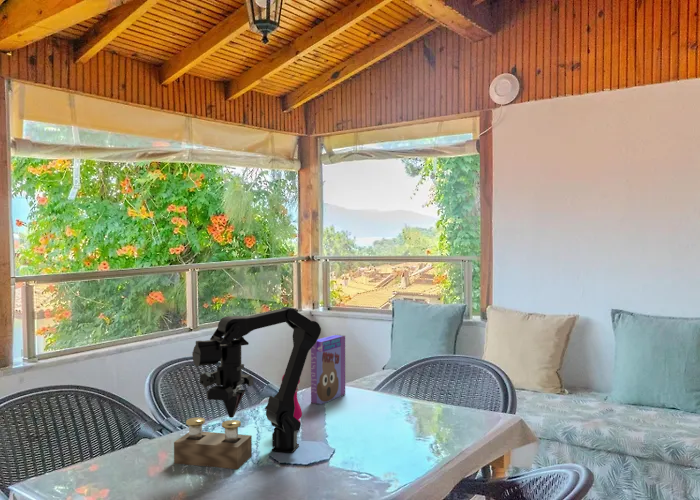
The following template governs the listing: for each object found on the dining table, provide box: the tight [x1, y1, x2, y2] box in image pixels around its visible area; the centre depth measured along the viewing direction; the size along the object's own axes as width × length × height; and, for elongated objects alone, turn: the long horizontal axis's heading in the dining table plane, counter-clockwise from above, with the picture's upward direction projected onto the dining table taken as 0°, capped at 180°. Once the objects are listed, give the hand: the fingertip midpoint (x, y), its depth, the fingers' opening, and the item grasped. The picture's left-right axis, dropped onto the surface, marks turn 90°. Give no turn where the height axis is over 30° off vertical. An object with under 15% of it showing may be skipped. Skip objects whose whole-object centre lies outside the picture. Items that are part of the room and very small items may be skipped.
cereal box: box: [310, 334, 346, 406], centre depth 234 cm, size 17×5×24 cm, turn 149°
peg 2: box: [221, 419, 242, 443], centre depth 168 cm, size 5×5×6 cm
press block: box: [173, 431, 253, 470], centre depth 169 cm, size 19×10×6 cm, turn 77°
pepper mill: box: [281, 374, 303, 423], centre depth 198 cm, size 7×7×20 cm
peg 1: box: [185, 416, 206, 440], centre depth 170 cm, size 5×5×6 cm
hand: (231, 417), depth 168 cm, fingers closed
